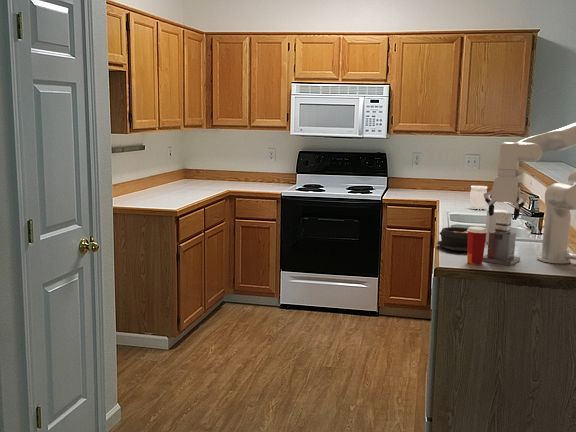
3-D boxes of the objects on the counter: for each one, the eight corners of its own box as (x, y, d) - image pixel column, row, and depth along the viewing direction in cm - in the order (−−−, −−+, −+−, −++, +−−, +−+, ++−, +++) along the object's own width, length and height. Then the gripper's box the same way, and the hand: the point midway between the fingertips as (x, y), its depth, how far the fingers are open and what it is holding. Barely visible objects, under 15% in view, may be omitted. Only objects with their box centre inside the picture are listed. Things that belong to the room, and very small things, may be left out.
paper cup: (488, 263, 247) (491, 228, 244) (479, 266, 241) (482, 230, 239) (469, 260, 252) (472, 225, 250) (460, 262, 246) (463, 227, 244)
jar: (475, 207, 412) (476, 185, 409) (489, 209, 404) (490, 186, 401) (465, 208, 405) (467, 185, 403) (479, 210, 397) (481, 187, 395)
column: (508, 257, 252) (511, 212, 249) (504, 258, 248) (508, 213, 246) (496, 255, 255) (500, 211, 252) (493, 257, 251) (496, 212, 248)
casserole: (482, 256, 260) (484, 236, 259) (436, 252, 264) (437, 233, 263) (479, 245, 284) (480, 226, 283) (436, 242, 288) (438, 223, 287)
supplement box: (507, 245, 286) (510, 212, 283) (487, 244, 287) (489, 211, 285) (503, 241, 294) (506, 210, 292) (484, 240, 296) (486, 208, 294)
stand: (520, 261, 253) (522, 232, 251) (510, 265, 243) (513, 236, 242) (490, 256, 260) (493, 228, 258) (480, 260, 251) (482, 232, 249)
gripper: (533, 175, 244) (528, 218, 247) (489, 171, 255) (485, 213, 257) (527, 176, 238) (522, 220, 241) (482, 172, 249) (478, 215, 251)
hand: (503, 216), depth 249 cm, fingers open, 9 cm apart
